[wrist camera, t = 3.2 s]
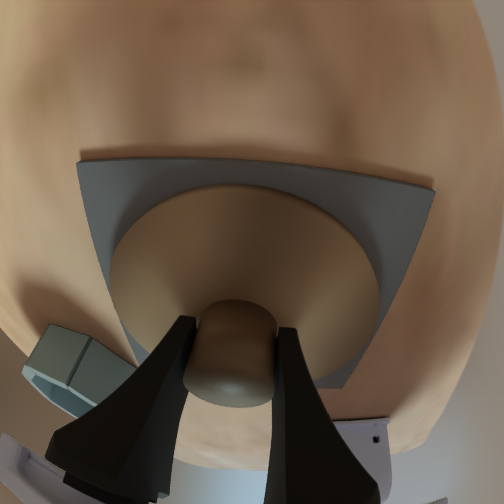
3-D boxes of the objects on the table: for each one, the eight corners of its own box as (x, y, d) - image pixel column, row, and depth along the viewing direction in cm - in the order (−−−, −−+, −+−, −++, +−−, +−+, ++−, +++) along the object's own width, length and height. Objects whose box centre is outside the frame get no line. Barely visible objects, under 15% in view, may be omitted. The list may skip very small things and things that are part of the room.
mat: (431, 188, 8) (435, 192, 8) (341, 384, 16) (341, 388, 15) (80, 160, 9) (76, 163, 8) (140, 361, 16) (139, 364, 16)
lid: (413, 205, 8) (466, 274, 5) (335, 382, 15) (339, 439, 12) (91, 181, 9) (24, 234, 6) (147, 362, 15) (128, 413, 12)
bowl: (128, 346, 15) (105, 400, 12) (160, 408, 21) (149, 446, 18) (26, 314, 16) (2, 351, 12) (73, 380, 21) (59, 411, 18)
